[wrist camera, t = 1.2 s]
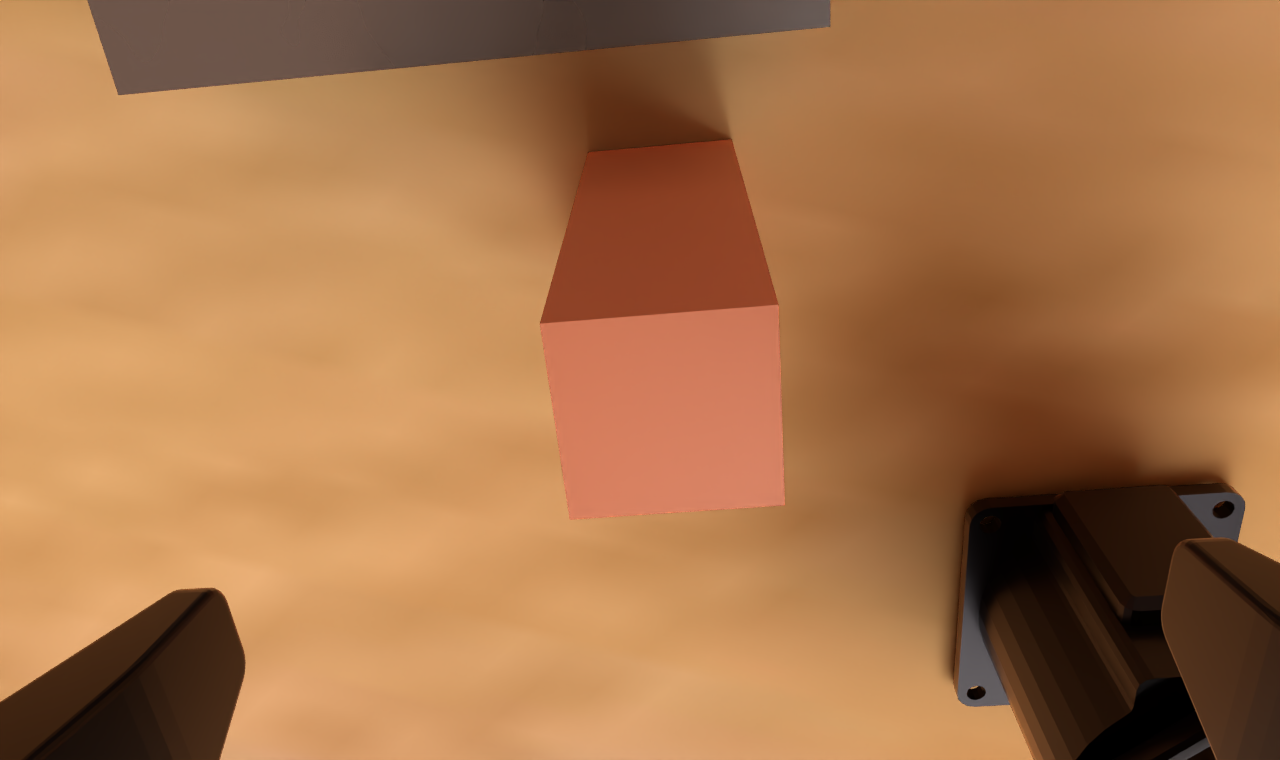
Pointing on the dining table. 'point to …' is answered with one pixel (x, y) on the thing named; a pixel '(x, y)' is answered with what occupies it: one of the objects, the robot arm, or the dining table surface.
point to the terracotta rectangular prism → (664, 339)
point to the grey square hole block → (397, 33)
